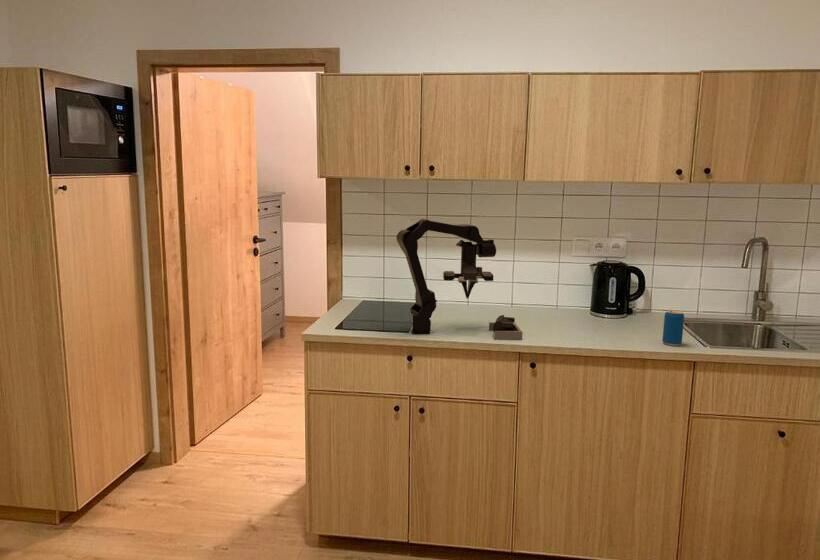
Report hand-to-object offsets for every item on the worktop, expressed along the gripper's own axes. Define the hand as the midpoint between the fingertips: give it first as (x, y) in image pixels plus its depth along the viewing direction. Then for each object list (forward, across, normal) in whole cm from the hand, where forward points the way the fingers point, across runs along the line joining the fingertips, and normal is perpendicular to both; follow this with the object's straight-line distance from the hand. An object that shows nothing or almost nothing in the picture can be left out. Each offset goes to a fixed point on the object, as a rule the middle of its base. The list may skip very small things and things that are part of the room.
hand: (467, 298), depth 244 cm
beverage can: (+12, +72, -20) cm, 76 cm away
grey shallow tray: (+12, +13, -9) cm, 20 cm away
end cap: (+12, +13, -10) cm, 20 cm away
